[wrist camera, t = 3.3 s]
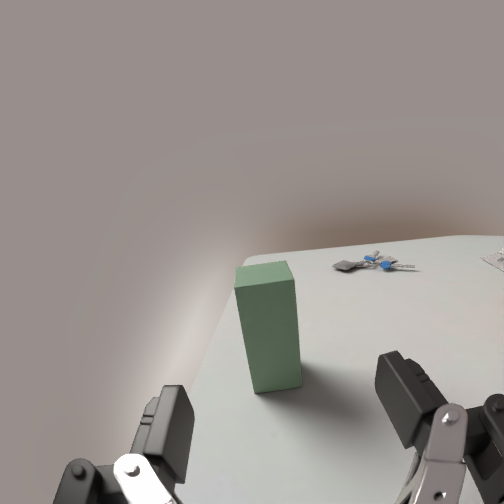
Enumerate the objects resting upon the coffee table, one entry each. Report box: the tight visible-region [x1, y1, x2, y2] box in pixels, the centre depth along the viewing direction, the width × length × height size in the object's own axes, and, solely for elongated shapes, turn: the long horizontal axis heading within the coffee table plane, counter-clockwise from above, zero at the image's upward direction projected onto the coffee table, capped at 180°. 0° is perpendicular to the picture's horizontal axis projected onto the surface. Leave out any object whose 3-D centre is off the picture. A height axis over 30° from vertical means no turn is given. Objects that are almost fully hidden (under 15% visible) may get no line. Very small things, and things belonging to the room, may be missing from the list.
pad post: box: [234, 261, 302, 393], centre depth 22 cm, size 4×4×10 cm
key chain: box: [332, 251, 415, 270], centre depth 44 cm, size 14×8×1 cm, turn 70°
